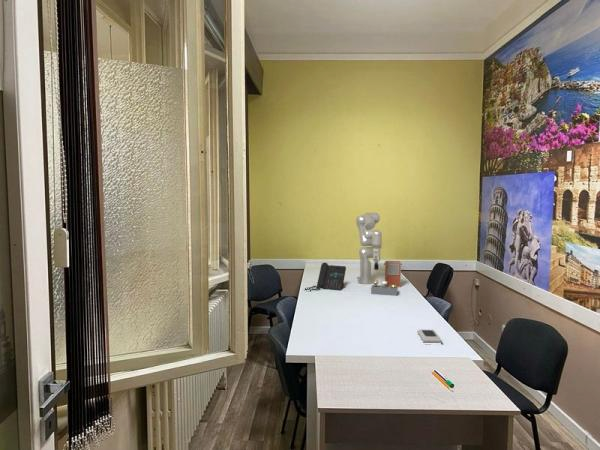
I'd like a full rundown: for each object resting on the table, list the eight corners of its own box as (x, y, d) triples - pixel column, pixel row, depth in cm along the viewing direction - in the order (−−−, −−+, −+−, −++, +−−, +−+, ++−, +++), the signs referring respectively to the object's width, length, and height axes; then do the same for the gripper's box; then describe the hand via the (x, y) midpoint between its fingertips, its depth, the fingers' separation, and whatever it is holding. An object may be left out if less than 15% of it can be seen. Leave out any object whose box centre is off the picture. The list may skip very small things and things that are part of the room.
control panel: (383, 285, 342) (400, 285, 340) (384, 287, 335) (402, 287, 333) (383, 260, 340) (401, 260, 339) (384, 262, 333) (402, 262, 332)
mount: (371, 293, 313) (371, 287, 312) (372, 290, 323) (372, 284, 322) (397, 295, 307) (397, 289, 307) (397, 292, 317) (397, 286, 317)
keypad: (423, 338, 210) (417, 328, 225) (423, 345, 211) (417, 334, 226) (442, 338, 210) (434, 328, 225) (441, 345, 210) (434, 335, 225)
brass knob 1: (372, 288, 315) (372, 281, 315) (373, 287, 319) (373, 280, 318) (377, 288, 314) (377, 281, 314) (378, 287, 318) (378, 280, 317)
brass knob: (390, 292, 312) (390, 285, 311) (390, 291, 315) (391, 284, 315) (395, 292, 310) (396, 285, 310) (396, 291, 314) (396, 284, 314)
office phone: (302, 291, 324) (302, 266, 322) (313, 283, 350) (313, 261, 348) (337, 294, 314) (337, 269, 312) (346, 286, 340) (346, 263, 338)
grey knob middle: (381, 288, 313) (381, 281, 313) (382, 287, 317) (382, 280, 317) (386, 289, 312) (386, 282, 312) (387, 287, 316) (387, 281, 316)
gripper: (380, 248, 305) (380, 271, 307) (382, 245, 320) (381, 267, 321) (371, 247, 307) (370, 271, 309) (372, 245, 322) (372, 267, 323)
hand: (376, 269), depth 315 cm, fingers closed
